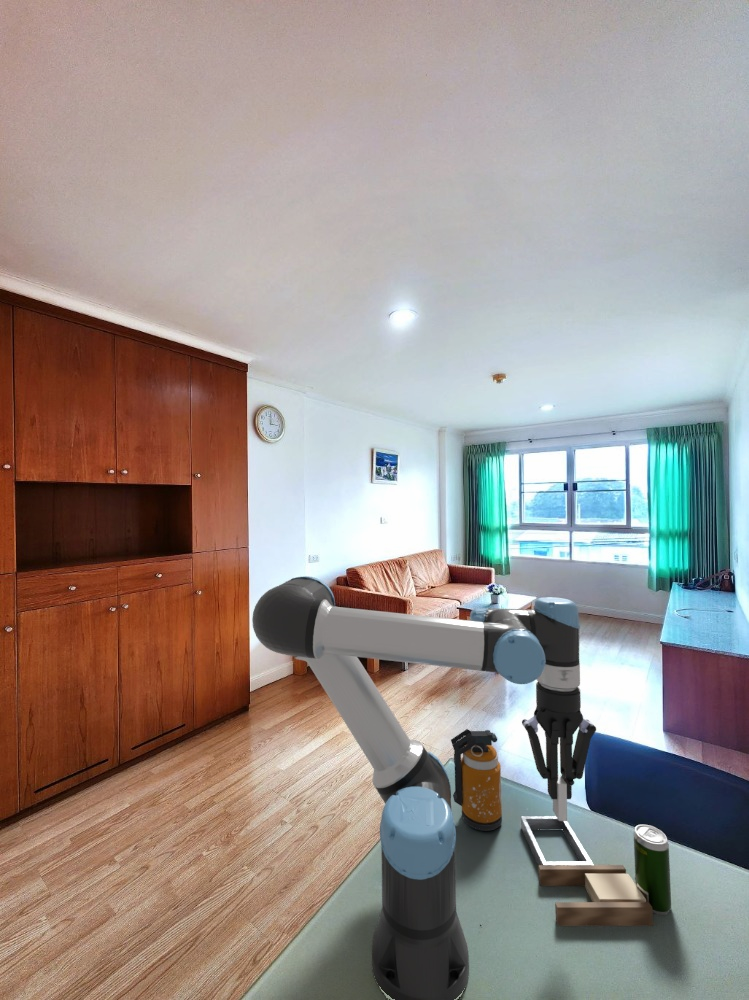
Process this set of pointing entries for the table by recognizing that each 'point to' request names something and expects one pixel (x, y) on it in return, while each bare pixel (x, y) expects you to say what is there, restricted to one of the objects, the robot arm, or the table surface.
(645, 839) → the beer can
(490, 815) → the canister
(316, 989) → the table surface
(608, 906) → the beam
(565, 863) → the frame
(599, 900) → the block
